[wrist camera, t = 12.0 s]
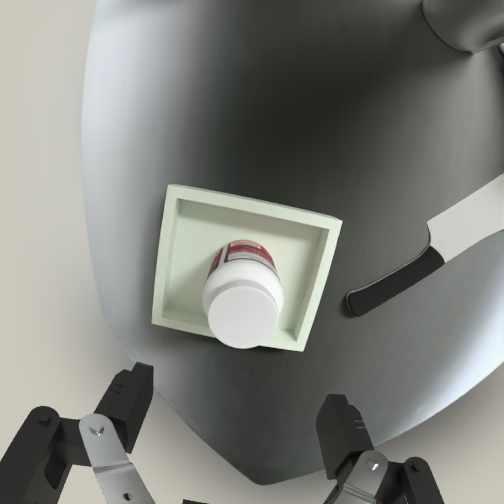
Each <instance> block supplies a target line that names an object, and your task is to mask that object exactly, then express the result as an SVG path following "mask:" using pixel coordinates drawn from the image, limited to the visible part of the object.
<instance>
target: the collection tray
mask: <svg viewBox="0 0 504 504" xmlns="http://www.w3.org/2000/svg"><path fill="white" fill-rule="evenodd" d="M341 224H342V221H341V220H339V219H337V218H335V217H333V216H329V215H325V214H321V213H316V212H312V211H308V210H304V209H299V208H295V207H291V206H286V205H282V204H277V203H272V202H268V201H263V200H258V199H254V198H249V197H244V196H239V195H234V194H229V193H224V192H218V191H213V190H208V189H202V188H197V187H191V186H185V185H180V184H172V185H168V188H167V194H166V200H165V207H164V213H163V220H162V227H161V234H160V241H159V249H158V258H157V267H156V276H155V286H154V298H153V310H152V324H156V325H160V326H164V327H168V328H173V329H177V330H182V331H186V332H191V333H195V334H200V335H205V336H210V337H215V335H214V334H213V333H212V331H211V329H210V327H209V324H208V318H207V316H206V314H205V312H204V308H203V303H202V294H203V289H204V285H205V282H206V280H207V277H208V274H209V271H210V268H211V265H212V262H213V259H214V257H215V256H216V254H217V252H218V251H219V250H220V249H221V248H222V247H223V246H224V245H226V244H227V243H229V242H232V241H235V240H240V239H246V240H251V241H254V242H257V243H259V244H260V245H262V246H263V247H264V248H265V249H266V250H267V251H268V252H269V254H270V255H271V257H272V259H273V261H274V265H275V268H276V271H277V274H278V277H279V279H280V282H281V285H282V289H283V294H284V304H283V309H282V312H281V314H280V316H279V318H278V324H277V327H276V329H275V331H274V333H273V334H272V336H271V337H270V338H269V339H268V340H267V341H265V342H264V343H262V344H260V345H261V346H267V347H274V348H281V349H288V350H295V351H303V350H304V347H305V344H306V341H307V339H308V336H309V333H310V330H311V327H312V324H313V321H314V318H315V315H316V311H317V308H318V305H319V302H320V299H321V296H322V292H323V289H324V286H325V282H326V279H327V276H328V272H329V269H330V265H331V262H332V258H333V254H334V251H335V247H336V243H337V240H338V236H339V232H340V228H341ZM215 338H216V337H215Z"/></svg>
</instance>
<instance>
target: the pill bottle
mask: <svg viewBox="0 0 504 504" xmlns="http://www.w3.org/2000/svg"><path fill="white" fill-rule="evenodd" d="M202 303H203V308H204V312H205V314H206V316H207V318H208V324H209V327H210V329H211V331H212V333H213V334H214V335H215V337H216V338H217V339H218V340H220V341H221V342H222V343H224V344H226V345H228V346H231V347H234V348H252V347H256V346H258V345H260V344H262V343H264V342H265V341H267V340H268V339H269V338H270V337H271V336H272V334H273V333H274V331H275V329H276V327H277V324H278V318H279V316H280V314H281V312H282V309H283V304H284V294H283V289H282V285H281V282H280V279H279V277H278V274H277V271H276V268H275V265H274V261H273V259H272V257H271V255H270V254H269V252H268V251H267V250H266V249H265V248H264V247H263V246H262V245H260V244H259V243H257V242H254V241H251V240H246V239H240V240H235V241H232V242H229V243H227V244H226V245H224V246H223V247H222V248H221V249H220V250H219V251H218V252H217V254H216V256H215V257H214V259H213V262H212V265H211V268H210V271H209V274H208V277H207V280H206V282H205V285H204V289H203V294H202Z"/></svg>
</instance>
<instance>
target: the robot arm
mask: <svg viewBox="0 0 504 504" xmlns="http://www.w3.org/2000/svg"><path fill="white" fill-rule="evenodd" d="M422 9H423V13H424V16H425V18H426V20H427V22H428V24H429V25H430V27H431V28H432V30H433V31H434V32H435V33H436V34H437V35H438V36H439V37H440V38H441V39H442V40H443V41H444V42H445V43H446V44H448V45H449V46H451V47H452V48H454V49H456V50H459V51H463V52H464V51H470V52H471V53H473V54H475V53H478V52H480V51H483V50H485V49H488V48H491V47H493V46H496V45H498V44H501V43H504V0H424V1H423V3H422ZM153 371H154V369H153V366H151V365H147V364H143V363H140V362H137V363H136V364H135V366H134V368H133V369H132V371H128V370H122V371H121V372H120V373H118V374H117V375H115V377H114V379H113V380H112V382H111V384H110V386H109V387H108V390H107V391H106V392H105V394H104V396H103V397H102V400H101V401H100V403H99V404H98V406H97V408H96V410H95V411H94V413H93V414H89V415H86V416H84V417H83V418H82V419H80V420H76V419H68V418H61V417H59V414H58V413H57V412H56V411H55V410H54V409H52V408H51V407H47V406H40V407H36V408H35V409H33V410H32V411H31V412H30V414H29V415H28V417H27V418H26V420H25V421H24V423H23V424H22V426H21V428H20V429H19V431H18V432H17V434H16V436H15V437H14V439H13V441H12V442H11V444H10V446H9V447H8V449H7V451H6V453H5V454H4V456H3V458H2V460H1V461H0V504H57V503H58V500H59V498H60V495H61V492H62V490H63V487H64V484H65V482H66V479H67V477H68V474H69V472H70V469H71V467H72V464H74V465H81V466H90V467H93V470H94V473H95V476H96V478H97V481H98V483H99V485H100V488H101V490H102V492H103V494H104V497H105V499H106V501H107V503H108V504H155V502H154V500H153V499H152V497H151V495H150V493H149V492H148V490H147V488H146V487H145V485H144V483H143V481H142V479H141V477H140V476H139V474H138V472H137V470H136V468H135V467H134V465H133V464H132V463H130V461H129V459H128V457H127V455H126V453H129V454H131V452H132V450H133V447H134V444H135V442H136V439H137V436H138V434H139V431H140V429H141V426H142V424H143V421H144V418H145V416H146V413H147V411H148V408H149V405H150V403H151V400H152V396H153ZM316 429H317V434H318V438H319V442H320V447H321V451H322V456H323V460H324V465H325V469H326V474H327V478H328V480H332V479H337V485H336V486H335V487H334V489H333V490H332V492H331V493H330V495H329V496H328V497H327V499H326V500H325V502H324V503H323V504H375V503H376V504H407V503H408V504H444V501H443V499H442V496H441V494H440V491H439V489H438V487H437V484H436V482H435V479H434V477H433V475H432V472H431V470H430V467H429V465H428V463H427V462H426V461H425V460H423V459H422V458H419V457H411V458H409V459H407V460H406V461H405V462H404V463H396V462H390V461H388V460H387V458H386V457H385V456H384V455H383V454H382V453H380V452H378V451H375V450H374V447H373V445H372V442H371V439H370V437H369V434H368V432H367V429H366V428H365V424H364V422H363V419H362V417H361V414H360V412H359V411H358V410H357V409H356V408H355V407H354V406H353V405H349V404H348V401H347V399H346V396H345V395H338V394H329V395H328V396H327V397H326V399H325V401H324V403H323V405H322V407H321V409H320V411H319V413H318V415H317V419H316ZM125 452H126V453H125ZM405 496H406V498H405ZM406 499H407V501H406ZM183 504H207V503H201V502H195V501H189V500H183Z"/></svg>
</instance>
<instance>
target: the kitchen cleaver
mask: <svg viewBox="0 0 504 504" xmlns="http://www.w3.org/2000/svg"><path fill="white" fill-rule="evenodd" d="M427 225H428V228H429V232H430V244H429V245H428V246H427V247H426V249H425V250H424V251H423V252H422V253H421V254H420V255H419V256H418V257H416V258H415V259H413V260H412V261H410V262H409V263H407V264H405V265H404V266H402V267H400V268H399V269H397V270H395V271H393V272H392V273H390V274H388V275H386V276H385V277H383V278H381V279H379V280H377V281H375V282H373V283H372V284H370V285H368V286H366V287H364V288H361V289H358V290H355V291H352V292H349V293H348V294H347V297H346V301H347V305H348V307H349V310H350V311H351V313H352V314H353V315H355V316H357V317H360V316H362V315H364V314H366V313H367V312H369V311H370V310H372V309H374V308H375V307H377V306H379V305H381V304H382V303H384V302H386V301H387V300H389V299H391V298H392V297H394V296H396V295H397V294H399V293H401V292H402V291H404V290H406V289H407V288H409V287H411V286H412V285H414V284H415V283H417V282H419V281H420V280H422V279H423V278H425V277H427V276H428V275H430V274H431V273H433V272H434V271H436V270H437V269H438V268H440V267H441V266H443V265H444V264H445V263H446V262H447V261H449V260H450V259H452V258H453V257H455V256H457V255H458V254H460V253H461V252H463V251H464V250H466V249H467V248H469V247H470V246H472V245H473V244H475V243H476V242H478V241H480V240H481V239H483V238H485V237H487V236H489V235H491V234H493V233H496V232H498V231H500V230H503V229H504V173H503V174H501V175H500V176H498V177H497V178H495V179H494V180H493V181H491V182H490V183H488V184H487V185H485V186H483V187H482V188H480V189H479V190H477V191H476V192H474V193H473V194H471V195H470V196H468V197H467V198H465V199H463V200H462V201H460V202H459V203H457V204H455V205H454V206H452V207H451V208H449V209H447V210H446V211H444V212H443V213H441V214H439V215H438V216H436V217H434V218H433V219H431V220H429V221H428V222H427Z"/></svg>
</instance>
